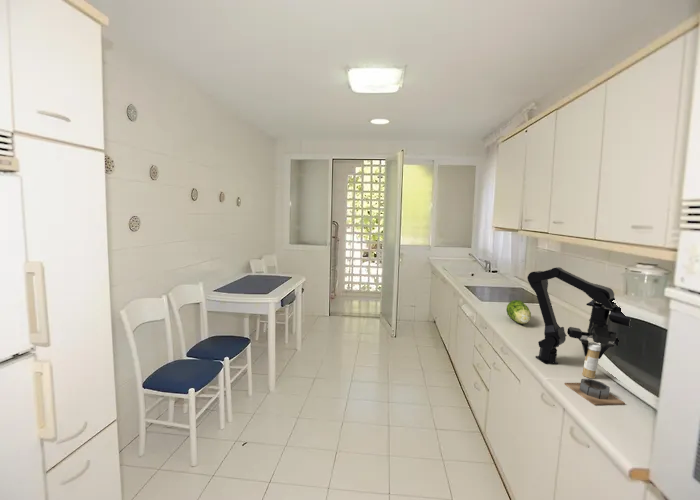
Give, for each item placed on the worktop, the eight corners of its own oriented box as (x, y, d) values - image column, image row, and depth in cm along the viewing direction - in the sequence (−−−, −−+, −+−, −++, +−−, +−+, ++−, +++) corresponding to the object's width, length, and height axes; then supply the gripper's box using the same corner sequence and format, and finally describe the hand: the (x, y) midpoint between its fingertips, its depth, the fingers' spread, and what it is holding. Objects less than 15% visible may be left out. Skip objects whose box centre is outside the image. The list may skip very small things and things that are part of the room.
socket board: (564, 384, 139) (564, 382, 139) (592, 383, 141) (592, 382, 141) (594, 405, 125) (595, 403, 125) (624, 404, 127) (625, 402, 127)
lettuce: (512, 327, 202) (515, 307, 200) (503, 315, 222) (505, 297, 221) (534, 329, 200) (538, 309, 199) (523, 318, 220) (526, 299, 219)
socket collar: (574, 386, 137) (575, 378, 136) (594, 386, 138) (595, 378, 138) (593, 399, 128) (594, 391, 128) (614, 398, 130) (615, 390, 129)
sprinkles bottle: (583, 372, 151) (588, 340, 149) (596, 376, 148) (602, 344, 146) (580, 375, 148) (586, 343, 146) (594, 380, 144) (600, 347, 143)
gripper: (576, 320, 140) (569, 359, 142) (635, 330, 134) (627, 371, 136) (570, 312, 150) (563, 349, 152) (624, 321, 144) (617, 359, 146)
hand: (592, 357), depth 147 cm, fingers closed on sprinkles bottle, 4 cm apart
